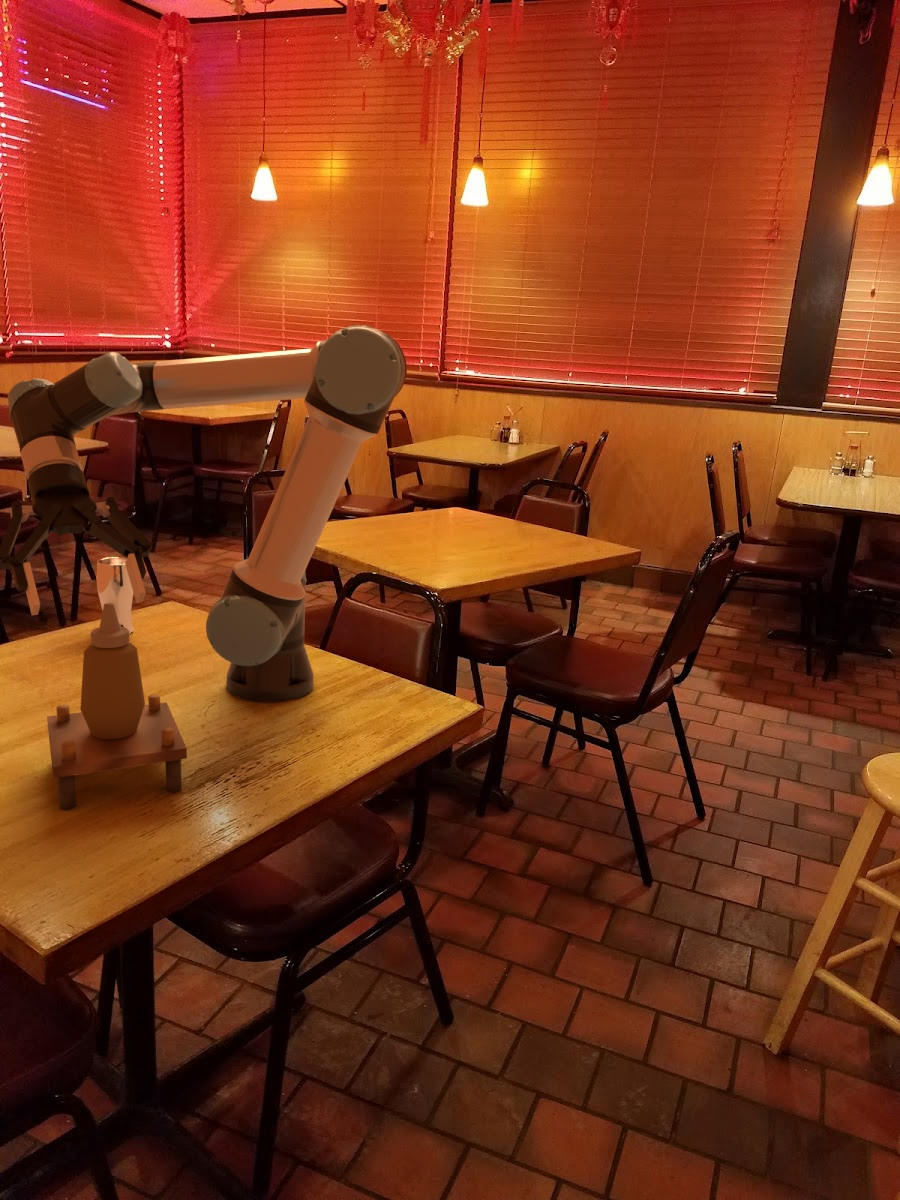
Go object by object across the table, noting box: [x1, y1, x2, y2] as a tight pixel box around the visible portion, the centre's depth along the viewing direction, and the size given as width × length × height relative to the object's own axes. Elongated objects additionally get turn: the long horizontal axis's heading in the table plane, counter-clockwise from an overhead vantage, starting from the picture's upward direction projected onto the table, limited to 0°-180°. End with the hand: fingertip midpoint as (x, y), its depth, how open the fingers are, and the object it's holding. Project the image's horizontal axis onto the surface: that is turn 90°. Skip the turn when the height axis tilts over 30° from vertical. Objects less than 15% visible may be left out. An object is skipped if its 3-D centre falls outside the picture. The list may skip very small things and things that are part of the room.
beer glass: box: [96, 556, 134, 634], centre depth 169 cm, size 7×7×15 cm
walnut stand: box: [46, 693, 188, 811], centre depth 114 cm, size 16×16×8 cm
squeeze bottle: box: [80, 603, 146, 739], centre depth 111 cm, size 8×8×18 cm
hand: (90, 604), depth 114 cm, fingers open, 13 cm apart
